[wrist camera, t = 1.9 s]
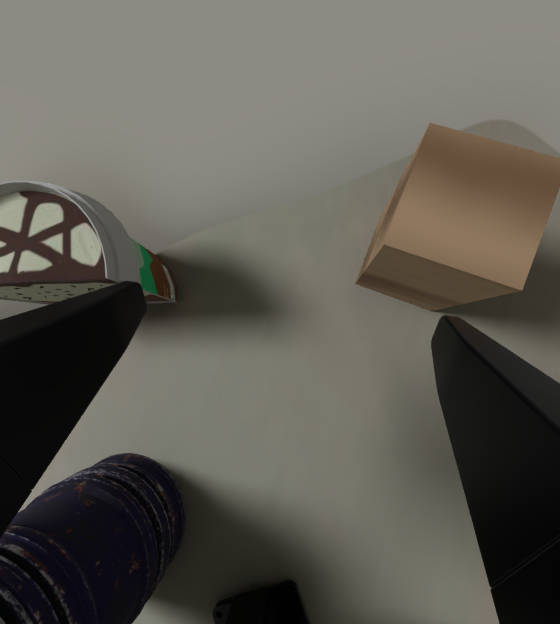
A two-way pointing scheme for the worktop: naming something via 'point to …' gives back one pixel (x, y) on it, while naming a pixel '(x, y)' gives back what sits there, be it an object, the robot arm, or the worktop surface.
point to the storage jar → (92, 545)
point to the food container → (69, 248)
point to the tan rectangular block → (461, 221)
